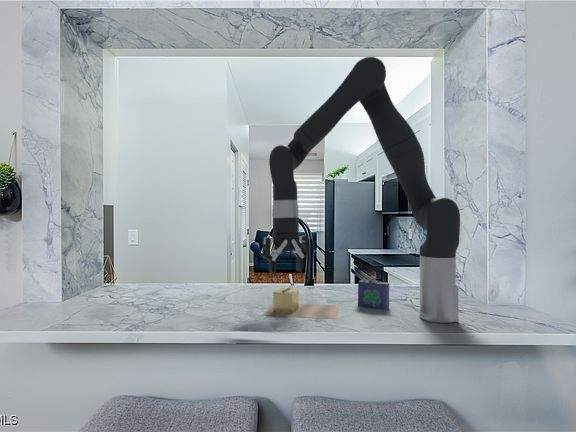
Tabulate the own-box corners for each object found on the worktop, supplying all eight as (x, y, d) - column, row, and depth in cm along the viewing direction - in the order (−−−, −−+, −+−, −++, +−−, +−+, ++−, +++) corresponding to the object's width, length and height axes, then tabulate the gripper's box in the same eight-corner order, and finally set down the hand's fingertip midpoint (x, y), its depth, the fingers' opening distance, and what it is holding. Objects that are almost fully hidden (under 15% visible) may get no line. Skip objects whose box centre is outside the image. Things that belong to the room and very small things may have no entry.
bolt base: (338, 310, 105) (338, 292, 105) (338, 324, 91) (338, 303, 91) (273, 307, 108) (273, 290, 108) (263, 321, 94) (263, 300, 94)
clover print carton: (390, 313, 102) (390, 276, 102) (388, 315, 100) (387, 278, 100) (359, 309, 106) (359, 274, 106) (356, 311, 104) (356, 275, 104)
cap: (292, 313, 96) (292, 292, 96) (273, 311, 98) (273, 290, 98) (298, 308, 101) (298, 288, 101) (280, 306, 103) (280, 286, 103)
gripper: (269, 216, 94) (270, 276, 94) (313, 215, 101) (314, 271, 101) (257, 216, 100) (258, 273, 100) (299, 216, 107) (300, 268, 107)
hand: (286, 272), depth 101 cm, fingers open, 8 cm apart
